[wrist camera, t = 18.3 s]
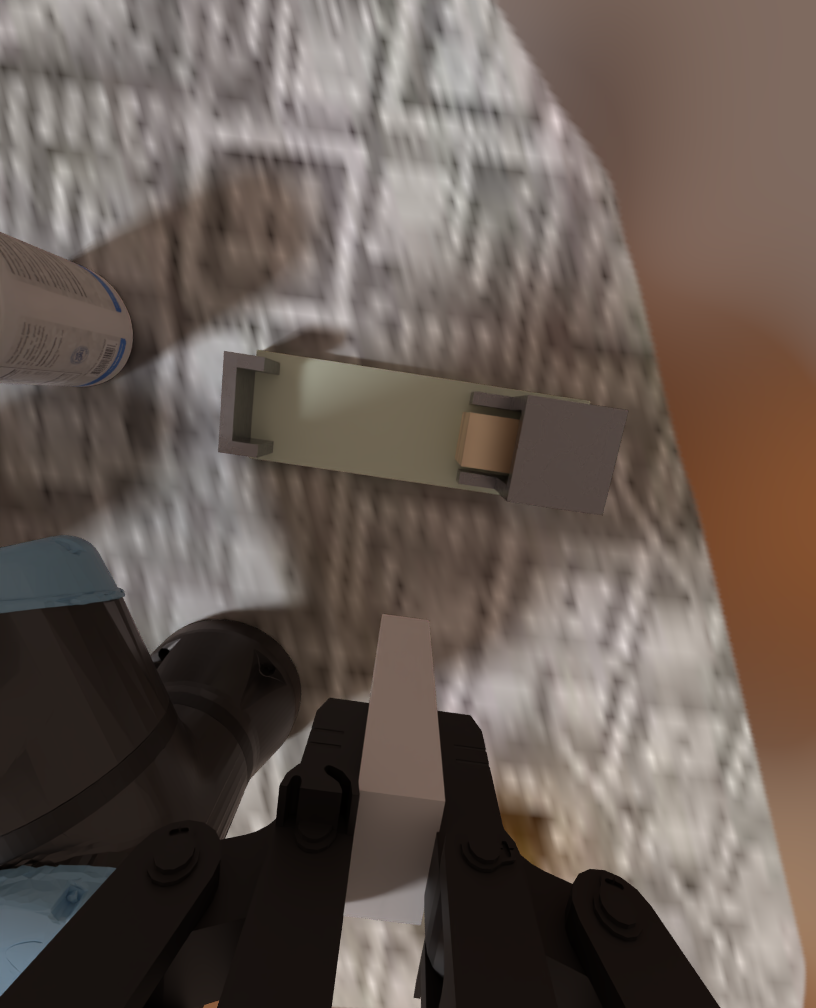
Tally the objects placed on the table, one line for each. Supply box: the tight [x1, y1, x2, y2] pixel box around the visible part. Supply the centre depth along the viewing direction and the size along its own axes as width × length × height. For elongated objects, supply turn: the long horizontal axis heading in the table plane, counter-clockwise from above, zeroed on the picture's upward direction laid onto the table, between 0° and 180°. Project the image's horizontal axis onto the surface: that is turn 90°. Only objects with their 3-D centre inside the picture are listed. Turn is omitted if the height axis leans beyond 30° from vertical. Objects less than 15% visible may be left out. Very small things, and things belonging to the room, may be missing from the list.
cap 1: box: [218, 351, 280, 458], centre depth 35 cm, size 3×8×4 cm, turn 171°
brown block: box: [455, 412, 520, 473], centre depth 35 cm, size 8×4×5 cm, turn 82°
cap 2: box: [456, 391, 628, 515], centre depth 34 cm, size 10×8×7 cm
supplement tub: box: [0, 232, 133, 387], centre depth 30 cm, size 10×10×15 cm
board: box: [249, 350, 590, 495], centre depth 38 cm, size 28×9×1 cm, turn 82°
